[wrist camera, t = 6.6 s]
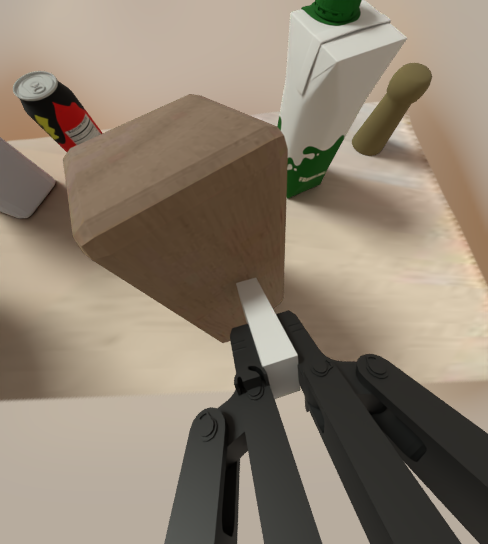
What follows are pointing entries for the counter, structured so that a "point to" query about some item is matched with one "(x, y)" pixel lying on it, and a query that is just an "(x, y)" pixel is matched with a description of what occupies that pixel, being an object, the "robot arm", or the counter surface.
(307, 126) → the milk carton
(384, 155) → the counter surface
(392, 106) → the olive peg figure
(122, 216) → the block
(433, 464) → the robot arm
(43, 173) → the soap bottle
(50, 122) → the beverage can
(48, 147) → the counter surface
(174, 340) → the counter surface
